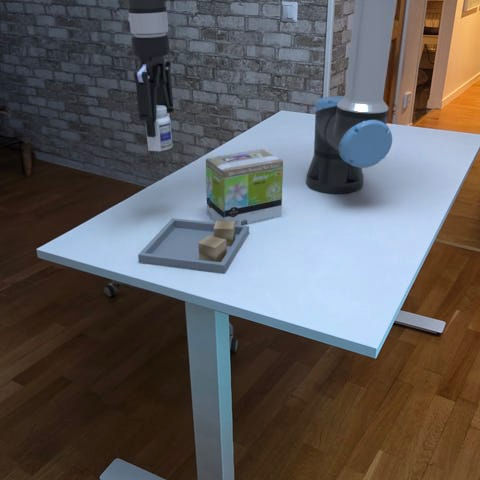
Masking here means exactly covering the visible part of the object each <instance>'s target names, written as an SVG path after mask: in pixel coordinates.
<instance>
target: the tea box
mask: <svg viewBox="0 0 480 480" xmlns="http://www.w3.org/2000/svg"><path fill="white" fill-rule="evenodd" d="M283 175H284V160H283V159H281V158H280V157H277V156H275V155H273V154H271V152H269V151H266V150H264V149H262V148H261V149H255V150H249V151H244V152H242V151H241V152H237V153H230V154H225V155H220V156H212V157H206V158H205V184H206V185H205V188H206V192H205V193H206V196H205V197H206V216H207V217H209V218H210V219H211V220H213V221H212V222H214V223H216V220H217V221H235V225H242V226H250V225H253V224H258V223H261V222H265V221H269V220H274V219H280V218H281V217H282V206H283V205H282V204H283V177H284V176H283Z"/></svg>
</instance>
